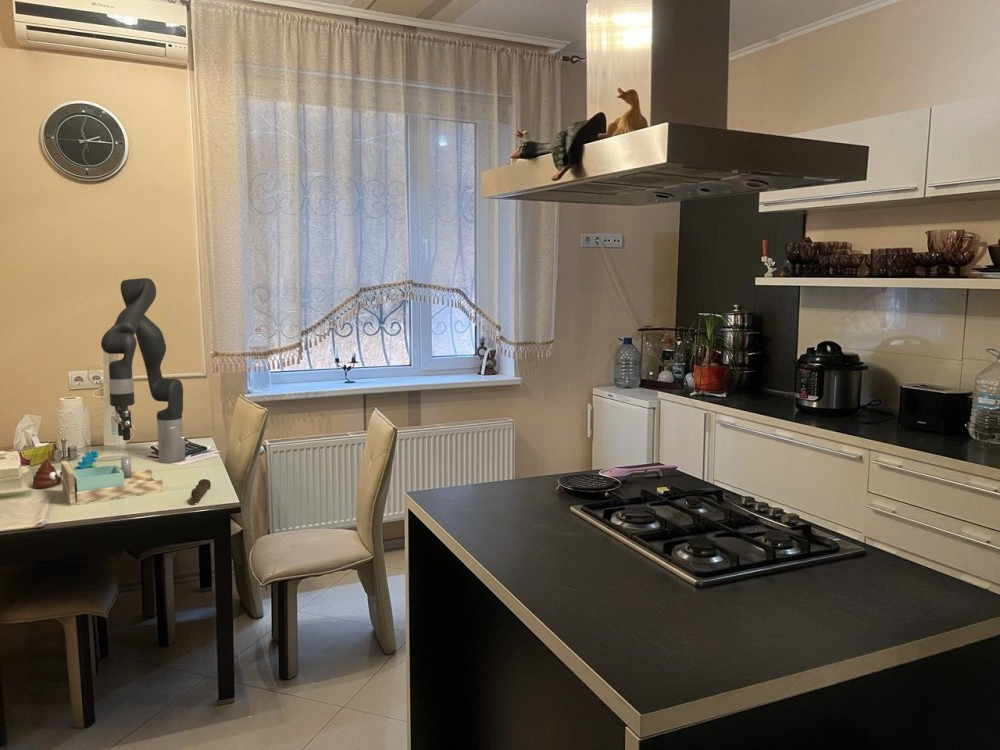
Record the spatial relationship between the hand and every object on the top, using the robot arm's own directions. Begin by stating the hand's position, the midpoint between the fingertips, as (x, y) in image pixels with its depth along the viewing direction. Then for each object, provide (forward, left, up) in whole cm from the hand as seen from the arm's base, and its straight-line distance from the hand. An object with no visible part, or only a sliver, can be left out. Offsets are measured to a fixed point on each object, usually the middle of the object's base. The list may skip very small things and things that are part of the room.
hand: (124, 437), depth 257 cm
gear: (+7, -34, -19) cm, 39 cm away
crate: (+7, 0, -17) cm, 19 cm away
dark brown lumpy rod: (-19, +22, -19) cm, 35 cm away
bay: (+4, 0, -19) cm, 19 cm away
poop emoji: (+22, -22, -19) cm, 36 cm away
